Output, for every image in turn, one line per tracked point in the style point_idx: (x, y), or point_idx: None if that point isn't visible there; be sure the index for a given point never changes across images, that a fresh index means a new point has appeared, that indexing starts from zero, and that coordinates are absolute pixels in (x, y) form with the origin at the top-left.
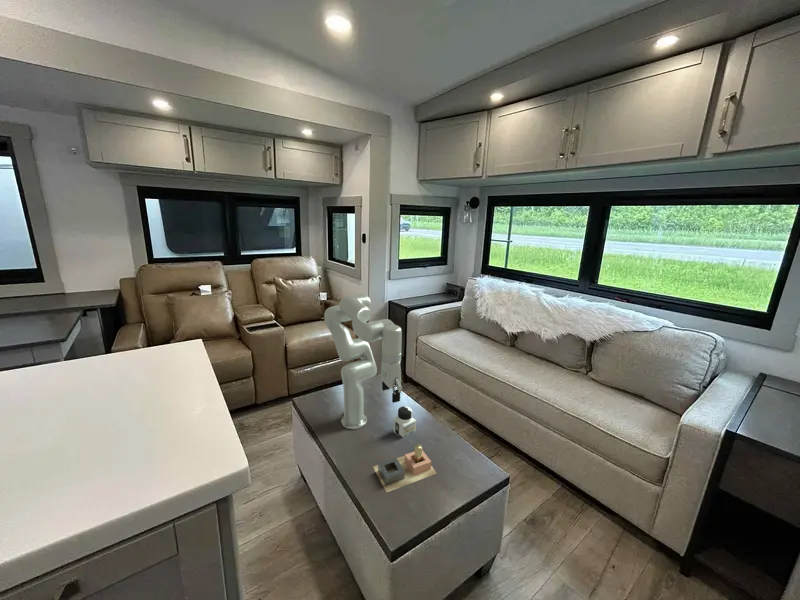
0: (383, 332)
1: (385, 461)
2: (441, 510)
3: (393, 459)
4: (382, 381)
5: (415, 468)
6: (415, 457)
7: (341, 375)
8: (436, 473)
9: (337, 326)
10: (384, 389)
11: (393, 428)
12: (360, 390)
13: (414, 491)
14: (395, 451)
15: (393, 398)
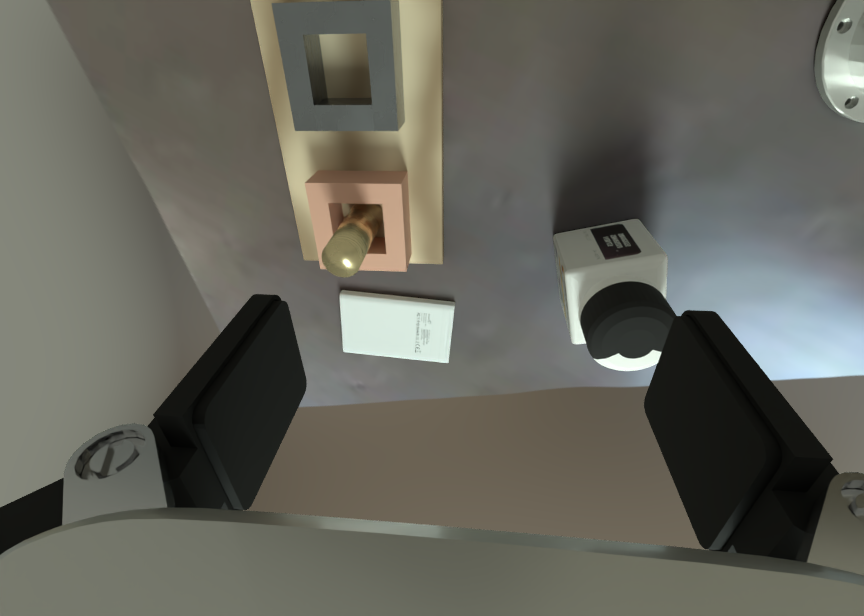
0: None
1: (391, 57)
2: (160, 187)
3: (389, 110)
4: (826, 460)
5: (308, 189)
6: (348, 219)
7: None
8: (304, 257)
9: None
10: (675, 341)
11: (642, 226)
12: None
13: (257, 135)
14: (506, 165)
15: (225, 349)
